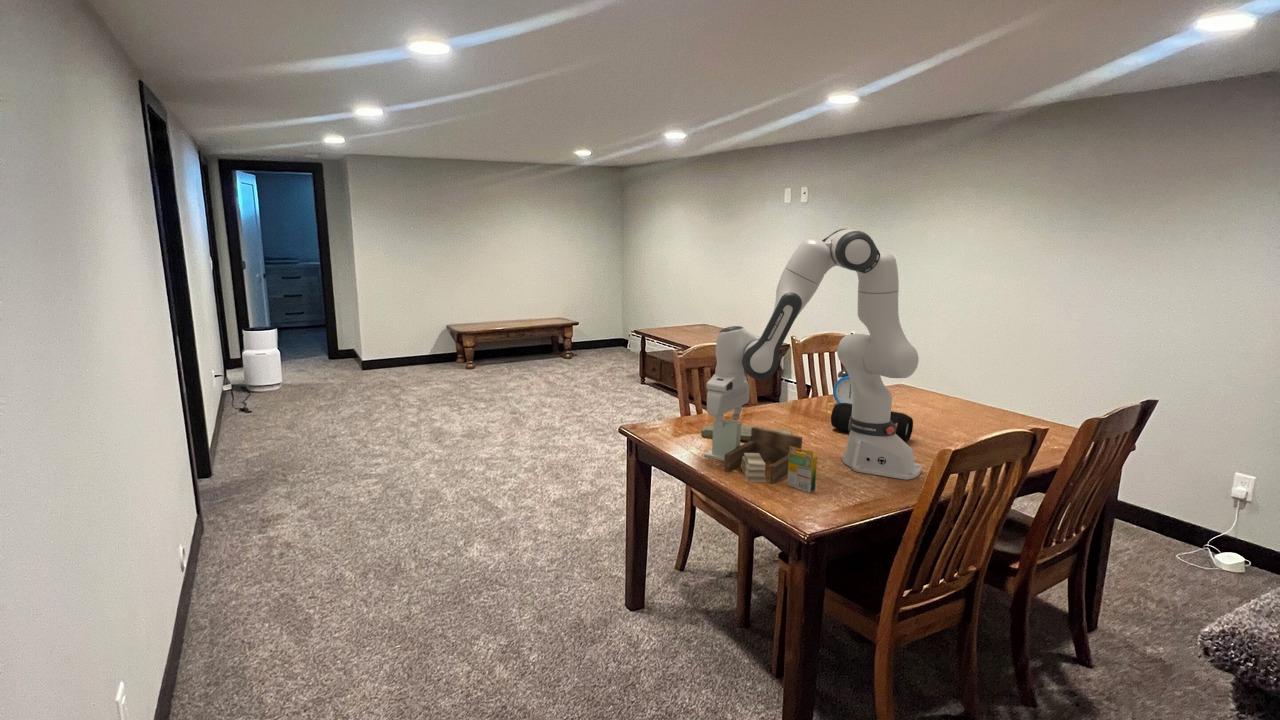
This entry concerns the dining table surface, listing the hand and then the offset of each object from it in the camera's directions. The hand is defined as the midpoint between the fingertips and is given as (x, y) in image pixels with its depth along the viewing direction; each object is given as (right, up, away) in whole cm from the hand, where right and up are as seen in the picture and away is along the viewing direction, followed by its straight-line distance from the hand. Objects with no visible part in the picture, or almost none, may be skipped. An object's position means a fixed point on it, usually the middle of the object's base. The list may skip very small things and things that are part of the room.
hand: (728, 423), depth 206 cm
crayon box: (+17, -16, -22) cm, 32 cm away
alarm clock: (+56, 0, +61) cm, 83 cm away
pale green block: (-1, -10, +1) cm, 10 cm away
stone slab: (+9, -7, +22) cm, 25 cm away
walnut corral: (+9, -13, -8) cm, 17 cm away
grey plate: (-1, -11, +2) cm, 11 cm away
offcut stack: (+6, -14, -12) cm, 19 cm away
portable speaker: (+52, -7, +25) cm, 58 cm away
